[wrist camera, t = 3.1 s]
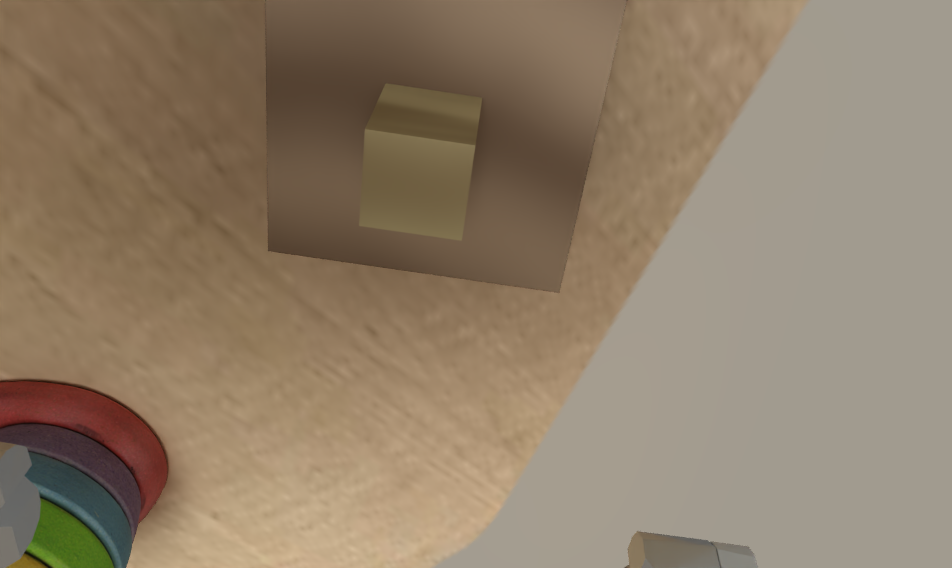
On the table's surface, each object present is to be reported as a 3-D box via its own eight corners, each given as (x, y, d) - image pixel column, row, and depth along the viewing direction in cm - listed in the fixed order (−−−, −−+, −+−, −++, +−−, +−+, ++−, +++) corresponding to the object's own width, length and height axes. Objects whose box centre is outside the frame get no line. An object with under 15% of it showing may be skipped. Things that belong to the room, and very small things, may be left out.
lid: (558, 272, 26) (562, 357, 22) (278, 231, 25) (235, 311, 22) (623, -19, 21) (644, 28, 17) (277, -72, 20) (221, -36, 17)
